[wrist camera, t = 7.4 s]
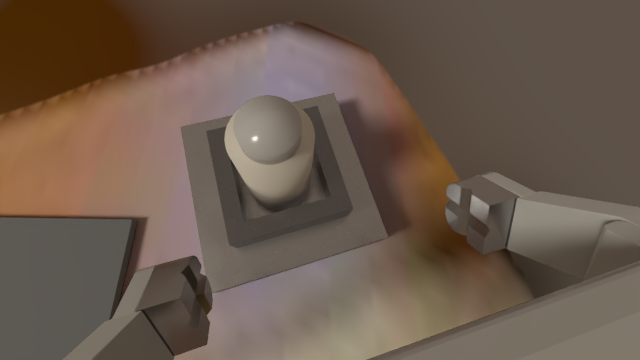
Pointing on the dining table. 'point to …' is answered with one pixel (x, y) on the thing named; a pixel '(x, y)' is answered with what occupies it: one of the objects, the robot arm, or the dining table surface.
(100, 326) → the robot arm
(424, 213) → the dining table surface
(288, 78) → the dining table surface
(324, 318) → the dining table surface
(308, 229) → the grey square socket
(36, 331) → the charcoal mat
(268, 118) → the salt shaker
